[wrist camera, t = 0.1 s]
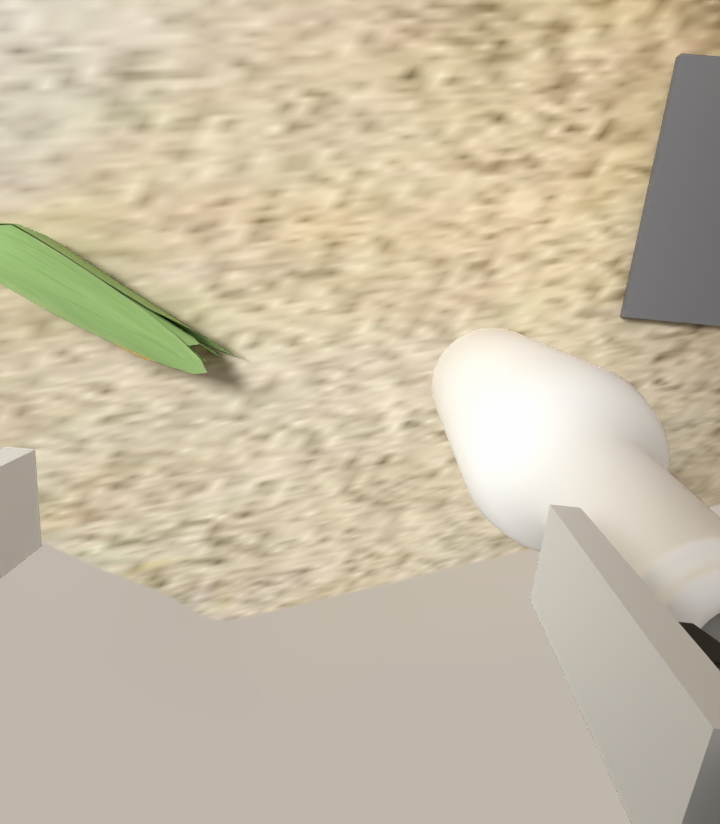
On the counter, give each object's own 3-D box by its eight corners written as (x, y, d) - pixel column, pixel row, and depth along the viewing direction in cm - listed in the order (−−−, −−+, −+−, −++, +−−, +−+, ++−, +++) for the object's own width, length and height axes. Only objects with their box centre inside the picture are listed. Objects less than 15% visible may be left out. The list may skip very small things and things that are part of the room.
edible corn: (-24, 192, 34) (-62, 250, 34) (239, 350, 37) (206, 404, 37) (16, 219, 40) (-16, 269, 39) (245, 356, 42) (216, 404, 42)
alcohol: (563, 404, 40) (1018, 728, 11) (461, 455, 42) (636, 858, 13) (514, 304, 39) (906, 385, 10) (410, 361, 40) (478, 579, 11)
